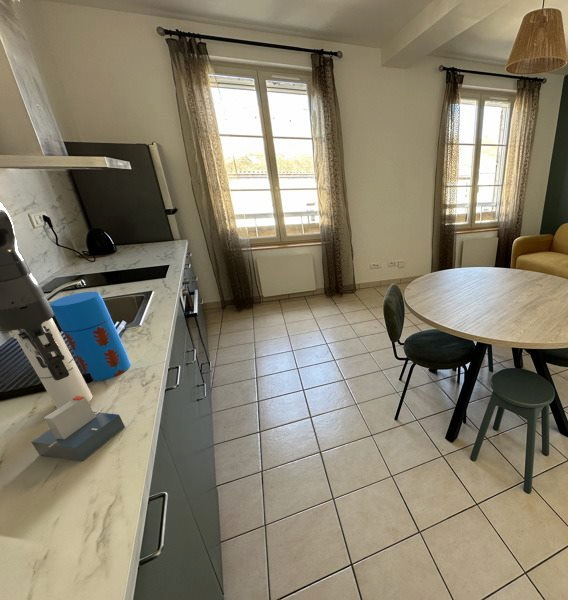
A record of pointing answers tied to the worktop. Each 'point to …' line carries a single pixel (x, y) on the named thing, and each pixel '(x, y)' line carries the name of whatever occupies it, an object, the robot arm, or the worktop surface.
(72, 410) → the tap handle
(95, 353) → the thermos
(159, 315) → the worktop surface
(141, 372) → the worktop surface
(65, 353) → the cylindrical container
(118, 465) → the worktop surface
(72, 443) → the block
